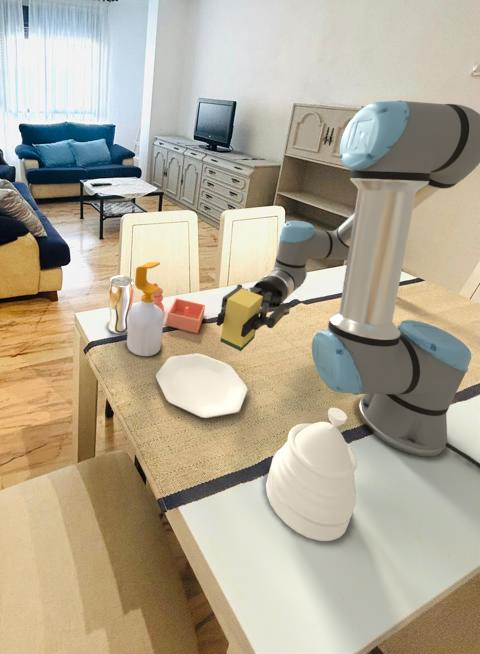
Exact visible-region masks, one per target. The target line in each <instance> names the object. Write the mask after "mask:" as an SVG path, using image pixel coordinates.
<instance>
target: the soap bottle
mask: <svg viewBox="0 0 480 654" xmlns="http://www.w3.org/2000/svg"><path fill="white" fill-rule="evenodd" d="M160 265H161V262H159V261H148V262H145V263H144V264H142V265H138V266H137V267H136V269H135V280H134V285H135V288H136V289H137V290H139V291H142V293H143V295H141V298H140V302H139V303H137V304H135V305H132V307H131V310H130V312H129V318H128V332H126V333H127V334H126V346H127V349H128V350H129V351H130V352H131V353H132V354H134V355H137V356H140V357H151V356H154V355H156V354H158V353H159V352H160V350H161V347H162V339H163V330H164V321H165V320H164V319H165V315H164V312H162V310H161V309H160V308H159V307H158V306H156V305H155V304H154V296H152V295H151V294H153V293H155V292H157V291H159V289H160V288H161V287H160V286H159V287H160V288H159V287H157V286H155V285H153V284H154V283H150V282H149V281H148V279H147V276H148V275H147V274H148V269H154V268H155V267H157V266H160Z"/></svg>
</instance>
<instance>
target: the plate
mask: <svg viewBox="0 0 480 654" xmlns="http://www.w3.org/2000/svg"><path fill="white" fill-rule="evenodd" d="M155 379H156V381H157V383H158V385H159V387H160V390H161V391H162V394H163V396H164V398H165V401H166V402H168V403H169V404H170V405H172V406H174V407H177V408H179V409H181V410H183V411H185V412H188V413H189V414H191V415H194V416H196V417H199V418H200V419H205V420H206V419H213V418H217V417H223V416H229V415H234V414H235V415H236V414H238V413H239V412H240V411H241V408H242V406H243V404H244V401H245V399H246V396H247V394H248V392H249V389H248V386H247V385H246V384H245V383H244V381H243V379H242V378H241V377H240V376H239V375H238V373H237V371H236V370H235V369H234V367H233V366H232V365H230V364H229V363H226V362H223V361H221V360H218V359H216V358H213V357H211V356H208V355H206V354H202V353H198V352H197V353H196V352H195V353H189V354H181V355H173V356H170V357H168V358H167V359H166V360H165V362H164V364H163V365H162V366H161V367H160V369H159V370H158V371H157V372H156V374H155Z"/></svg>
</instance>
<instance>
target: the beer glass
mask: <svg viewBox="0 0 480 654" xmlns="http://www.w3.org/2000/svg"><path fill="white" fill-rule="evenodd" d="M134 285H135V280H133V278H131V277H129V276H126V275H115V276H113V277H111V278H110V279H109V284H108V294H107V295H108V296H107V297H108V298H107V299H108V307H109V314H110V316H109V322H108V329H109V331H110V332H112V333H114V334H120V335H122V334H126V333H128V318H129V312H130V310H131V308H132V307H133V302H134V297H135V296H134V295H135V293H134V291H135V287H134Z"/></svg>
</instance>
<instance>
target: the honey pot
mask: <svg viewBox="0 0 480 654" xmlns="http://www.w3.org/2000/svg"><path fill="white" fill-rule="evenodd" d="M327 417H328V420H329V421H330V422H327V421H317V422H314V423H305V422H304V423H299V424H296V425H294V426H293V427H292V428H291V429H290V430H289V432H288V434H287V441H286V442H285V443H284V444H283V445H282V447H281V448H279V449H277V451H276V453H275V454H274V456H273V457H272V460H271V464H270V467H269V470H268V475H267V478H266V479H267V480H266V483H265V489H266V496H267V499H268V501H269V504H270V506H271V507H272V509H273V510H274V512H275V514H276V515H277V516H278V517H279V518H280V519H281V520H282V522H283V523H285V525H286V526H288V527H289V528H291V529H292V530H293V531H294V532H296V533H298V534H300V535H302V536H303V537H306V538H308V539H312V540H315V541H319V542H332V541H334V540H337V539H339V538H341V537H342V536H343V535H344V534H345V533H346V531H347V528H348V526H349V523H350V520H351V518H352V515H353V514H354V511H355V509H356V506H357V491H356V480H355V478H356V477H355V473H356V470H357V467H358V465H357V464H358V463H357V458H356V455H355V452H354V450H353V449H352V448H351V446H350V444H349V443H348V442H347V441H346V440H345V438H344V436H343V434H342V432H341V431H340V430H339V429H338V427H339V426H342V425H343V424H344V423H345V422H346V421H347V419H348V416H347V414H346V412H344V411H343V410H342V409H340V408H337V407H330V408H328V411H327Z"/></svg>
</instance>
